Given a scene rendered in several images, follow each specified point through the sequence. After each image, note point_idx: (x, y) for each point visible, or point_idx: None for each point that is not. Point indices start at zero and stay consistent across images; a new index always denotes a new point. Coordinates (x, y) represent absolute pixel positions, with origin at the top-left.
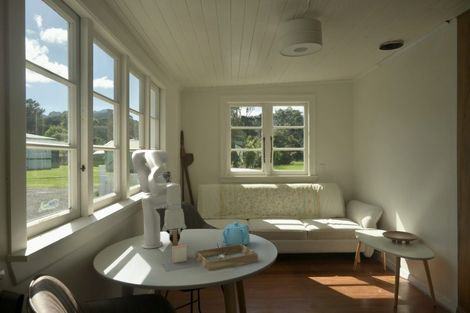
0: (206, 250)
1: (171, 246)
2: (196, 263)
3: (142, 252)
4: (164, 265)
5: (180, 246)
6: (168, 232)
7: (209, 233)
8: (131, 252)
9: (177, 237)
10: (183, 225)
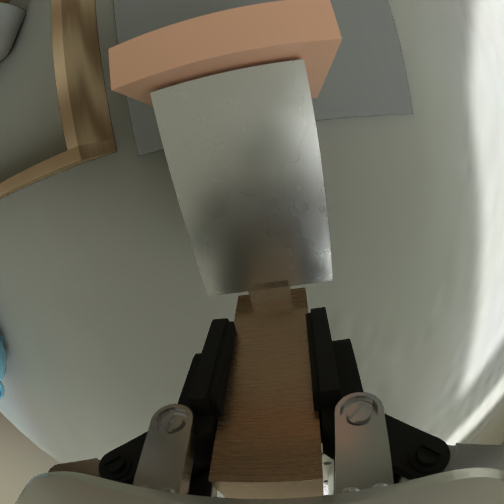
0: (15, 175)
1: (329, 249)
2: (121, 26)
3: (443, 395)
4: (386, 54)
5: (207, 24)
6: (401, 439)
7: None
8: (478, 399)
9: (227, 367)
10: (28, 497)
